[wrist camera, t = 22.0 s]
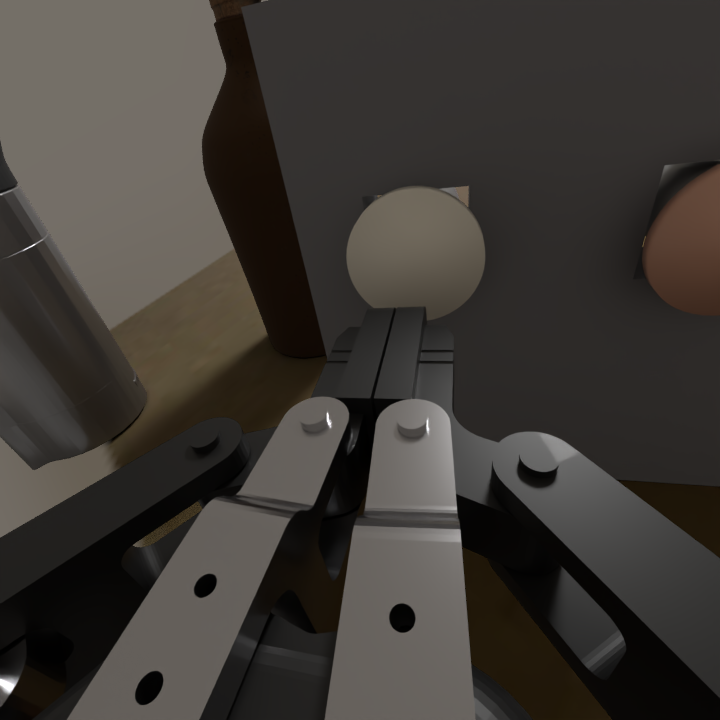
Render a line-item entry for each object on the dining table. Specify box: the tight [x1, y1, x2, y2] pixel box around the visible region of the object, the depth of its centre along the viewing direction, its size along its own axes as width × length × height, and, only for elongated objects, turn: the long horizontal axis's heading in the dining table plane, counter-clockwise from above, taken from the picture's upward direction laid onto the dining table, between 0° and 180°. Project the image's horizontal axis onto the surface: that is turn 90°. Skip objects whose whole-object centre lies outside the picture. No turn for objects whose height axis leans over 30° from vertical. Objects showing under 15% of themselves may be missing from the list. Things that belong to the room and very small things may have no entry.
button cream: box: [346, 186, 485, 321], centre depth 17 cm, size 7×5×5 cm
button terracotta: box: [642, 160, 720, 316], centre depth 14 cm, size 7×5×5 cm
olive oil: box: [202, 0, 326, 358], centre depth 32 cm, size 11×11×25 cm
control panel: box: [241, 0, 720, 487], centre depth 18 cm, size 8×30×22 cm, turn 78°
